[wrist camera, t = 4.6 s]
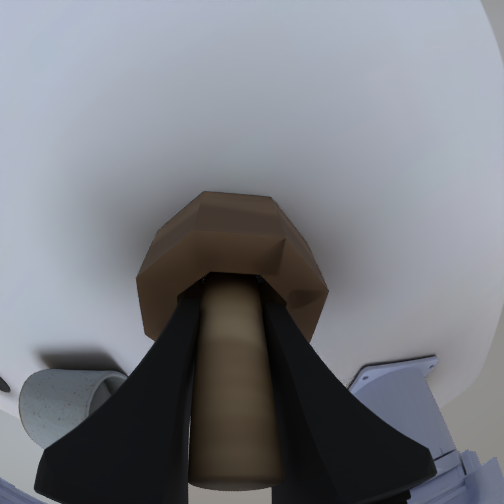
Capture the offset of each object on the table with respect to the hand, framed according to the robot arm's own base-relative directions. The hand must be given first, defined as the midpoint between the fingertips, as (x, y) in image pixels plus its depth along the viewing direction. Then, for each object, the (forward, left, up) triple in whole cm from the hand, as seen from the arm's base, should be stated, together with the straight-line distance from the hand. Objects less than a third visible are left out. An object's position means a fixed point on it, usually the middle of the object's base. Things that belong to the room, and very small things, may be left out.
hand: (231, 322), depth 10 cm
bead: (0, 0, -4) cm, 4 cm away
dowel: (0, 0, -2) cm, 2 cm away
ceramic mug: (-13, +10, -4) cm, 17 cm away
